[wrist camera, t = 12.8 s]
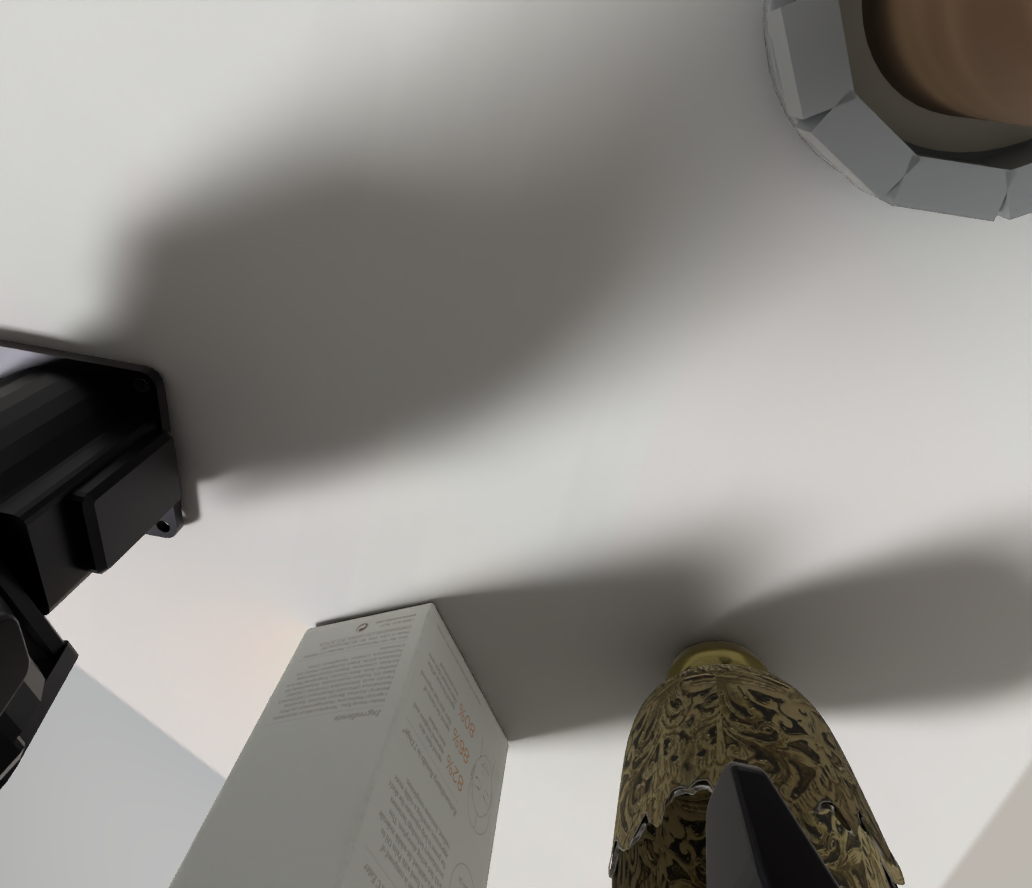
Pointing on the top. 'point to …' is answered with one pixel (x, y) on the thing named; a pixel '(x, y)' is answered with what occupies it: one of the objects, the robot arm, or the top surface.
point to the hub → (888, 121)
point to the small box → (361, 769)
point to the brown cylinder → (956, 55)
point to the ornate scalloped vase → (744, 739)
